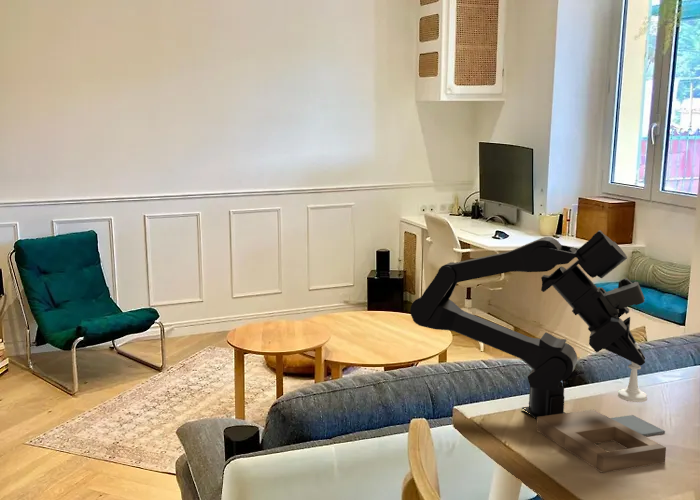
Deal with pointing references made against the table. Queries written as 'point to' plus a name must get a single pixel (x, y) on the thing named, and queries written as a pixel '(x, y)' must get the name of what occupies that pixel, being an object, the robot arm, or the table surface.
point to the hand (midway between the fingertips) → (643, 362)
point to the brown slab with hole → (600, 440)
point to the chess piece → (633, 385)
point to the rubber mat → (638, 425)
